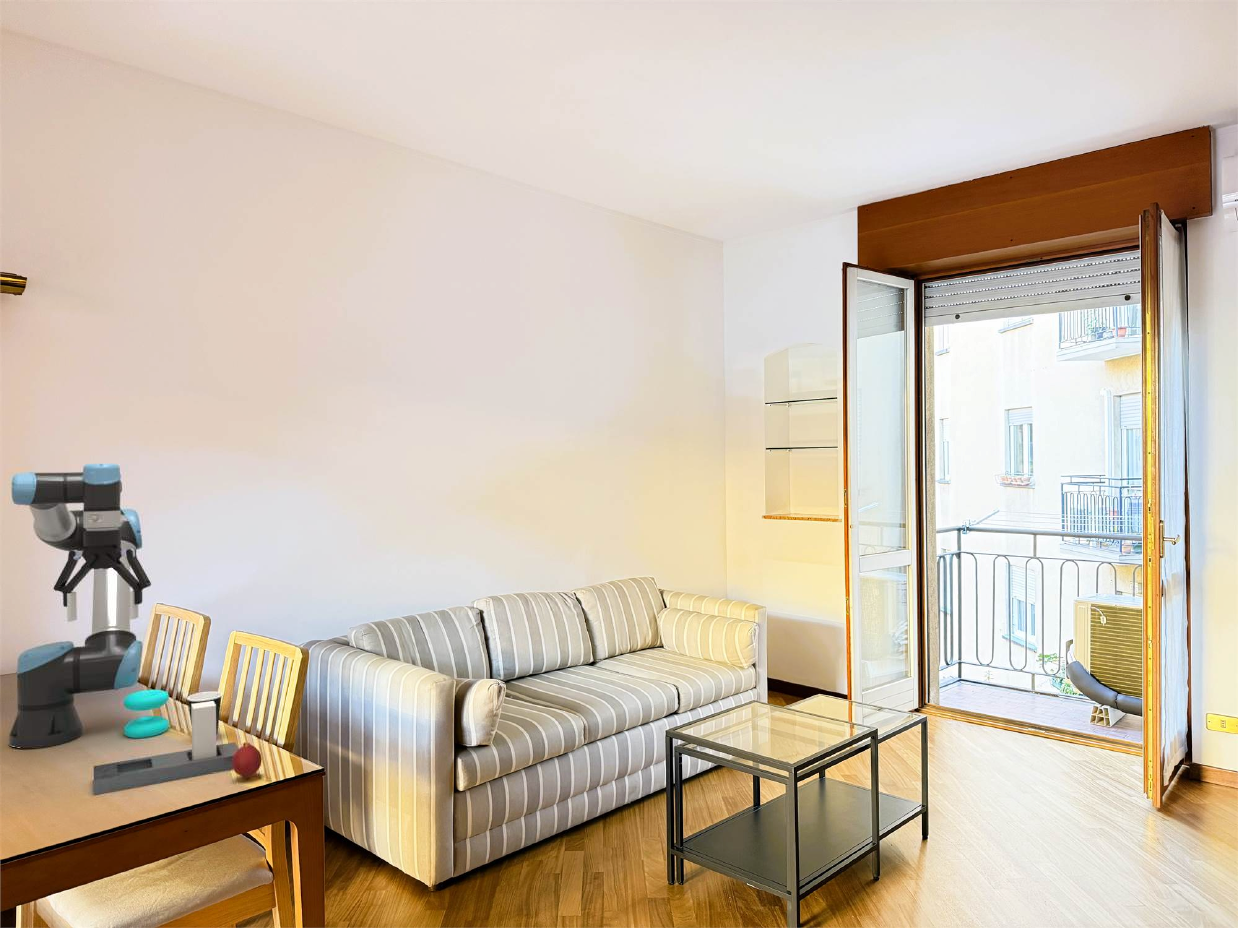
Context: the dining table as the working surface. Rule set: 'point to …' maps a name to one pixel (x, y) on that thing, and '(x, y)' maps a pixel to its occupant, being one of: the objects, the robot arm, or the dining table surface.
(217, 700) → the dixie cup
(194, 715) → the peg
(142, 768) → the gray slotted board
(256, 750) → the onion
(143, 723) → the donuts
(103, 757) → the dining table surface
